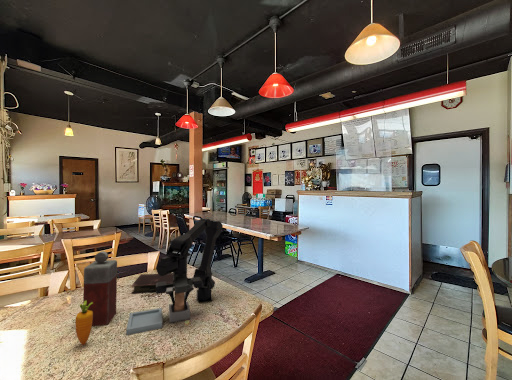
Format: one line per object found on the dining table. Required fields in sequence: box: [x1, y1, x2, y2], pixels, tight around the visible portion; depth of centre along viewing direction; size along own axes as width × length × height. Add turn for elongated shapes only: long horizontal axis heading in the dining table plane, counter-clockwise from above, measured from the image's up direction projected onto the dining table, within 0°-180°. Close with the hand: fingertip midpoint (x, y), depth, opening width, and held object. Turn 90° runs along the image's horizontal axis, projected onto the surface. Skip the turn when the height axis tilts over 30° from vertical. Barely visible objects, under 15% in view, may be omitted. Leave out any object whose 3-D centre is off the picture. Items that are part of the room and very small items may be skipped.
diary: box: [131, 272, 175, 295], centre depth 130 cm, size 19×25×5 cm
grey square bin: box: [168, 301, 191, 324], centre depth 99 cm, size 8×8×4 cm
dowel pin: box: [174, 292, 185, 312], centre depth 99 cm, size 4×4×10 cm
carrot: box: [75, 301, 93, 346], centre depth 80 cm, size 5×5×15 cm
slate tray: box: [125, 307, 163, 336], centre depth 94 cm, size 12×12×2 cm
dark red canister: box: [82, 250, 118, 327], centre depth 97 cm, size 9×11×28 cm
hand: (179, 304), depth 99 cm, fingers closed on dowel pin, 4 cm apart
